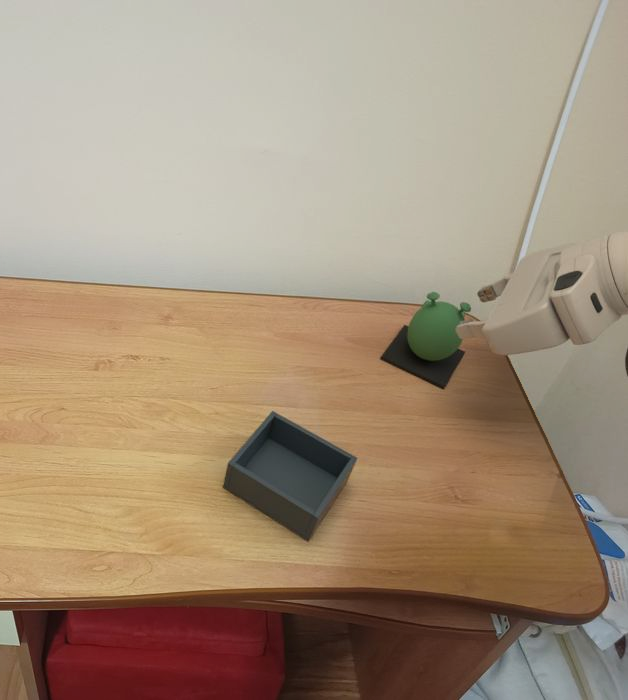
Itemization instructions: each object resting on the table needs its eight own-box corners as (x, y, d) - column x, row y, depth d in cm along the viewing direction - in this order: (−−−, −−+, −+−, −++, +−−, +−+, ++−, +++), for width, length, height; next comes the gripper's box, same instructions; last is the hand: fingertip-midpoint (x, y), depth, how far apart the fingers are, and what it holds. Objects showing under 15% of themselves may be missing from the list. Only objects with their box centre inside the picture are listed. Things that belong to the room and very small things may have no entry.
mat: (464, 354, 89) (465, 351, 88) (443, 389, 83) (444, 386, 83) (403, 327, 92) (404, 324, 92) (380, 359, 87) (381, 356, 87)
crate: (347, 481, 71) (357, 457, 68) (308, 541, 65) (318, 518, 62) (265, 435, 76) (272, 410, 73) (222, 487, 70) (227, 462, 67)
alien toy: (454, 345, 89) (482, 289, 83) (447, 378, 84) (477, 322, 77) (404, 329, 91) (428, 273, 85) (395, 361, 86) (419, 304, 79)
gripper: (597, 219, 75) (481, 256, 86) (564, 299, 62) (433, 331, 73) (617, 264, 76) (501, 295, 87) (588, 351, 64) (456, 375, 74)
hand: (469, 312), depth 80 cm, fingers open, 8 cm apart
